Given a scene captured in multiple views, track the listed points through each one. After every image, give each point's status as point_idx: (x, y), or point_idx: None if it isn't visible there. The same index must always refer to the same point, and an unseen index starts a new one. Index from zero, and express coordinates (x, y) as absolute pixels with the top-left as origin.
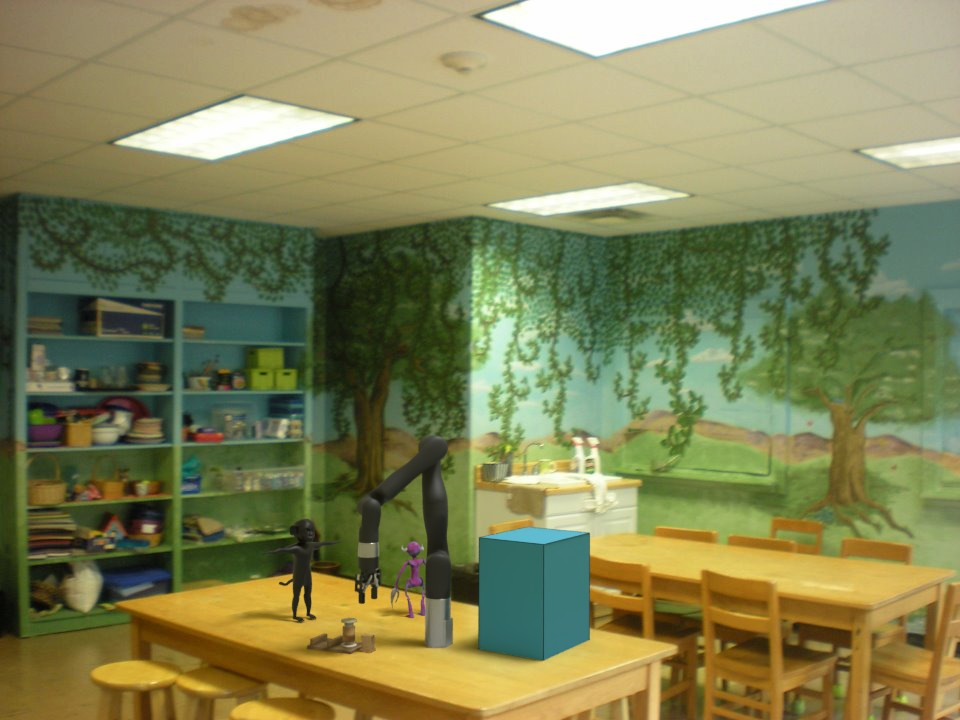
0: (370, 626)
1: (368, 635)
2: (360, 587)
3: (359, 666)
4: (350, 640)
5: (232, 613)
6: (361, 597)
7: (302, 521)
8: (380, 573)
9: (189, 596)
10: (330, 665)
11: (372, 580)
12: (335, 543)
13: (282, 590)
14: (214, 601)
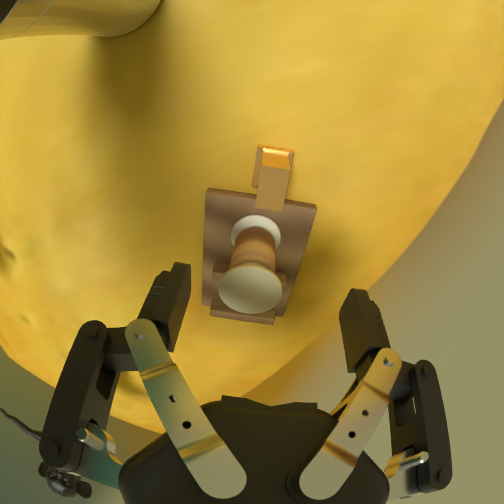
0: (58, 254)
1: (277, 184)
2: (439, 393)
3: (424, 148)
4: (271, 237)
5: (143, 401)
6: (383, 331)
7: (67, 496)
8: (56, 419)
9: (123, 417)
10: (417, 222)
11: (236, 426)
12: (8, 415)
13: (49, 372)
14: (120, 408)
